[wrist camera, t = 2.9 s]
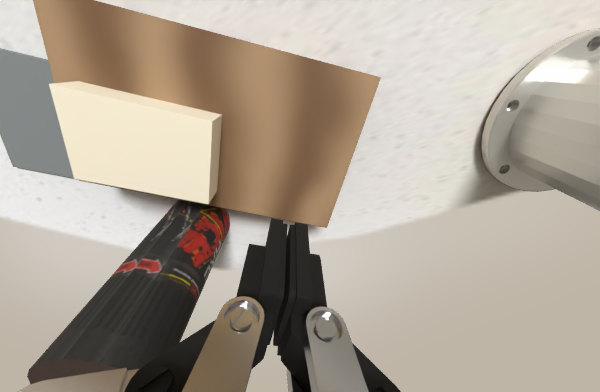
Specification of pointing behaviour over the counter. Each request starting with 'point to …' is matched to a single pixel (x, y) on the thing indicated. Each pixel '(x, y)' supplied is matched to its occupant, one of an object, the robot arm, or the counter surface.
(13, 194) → the counter surface
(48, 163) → the mat
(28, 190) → the counter surface
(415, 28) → the counter surface
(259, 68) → the wood grain slab
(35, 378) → the deodorant
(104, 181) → the cream foam block
